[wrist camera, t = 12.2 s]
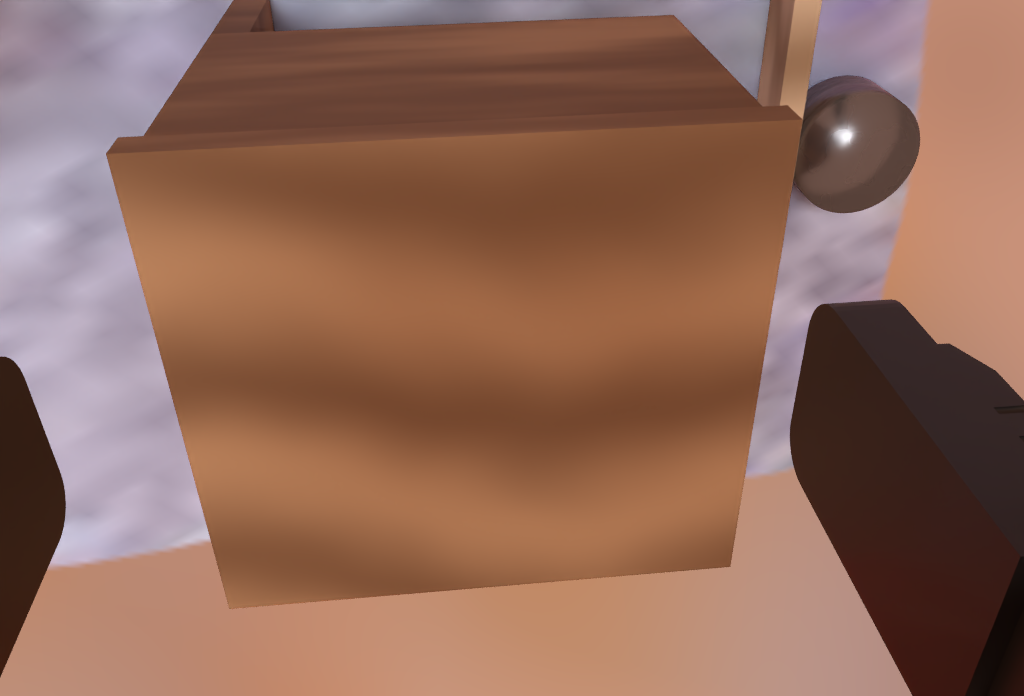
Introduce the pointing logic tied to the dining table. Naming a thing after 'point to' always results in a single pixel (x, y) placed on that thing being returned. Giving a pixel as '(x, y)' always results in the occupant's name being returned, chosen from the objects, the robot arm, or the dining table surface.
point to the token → (854, 144)
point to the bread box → (459, 298)
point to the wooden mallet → (788, 54)
